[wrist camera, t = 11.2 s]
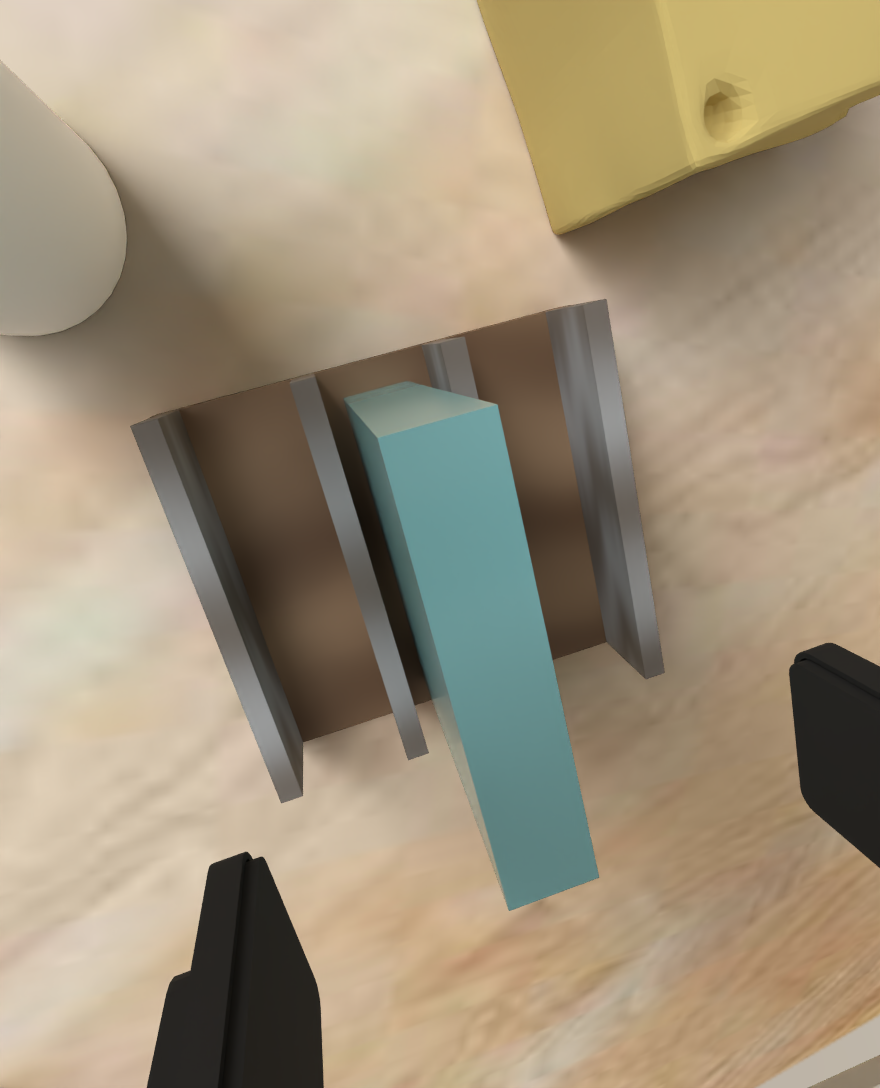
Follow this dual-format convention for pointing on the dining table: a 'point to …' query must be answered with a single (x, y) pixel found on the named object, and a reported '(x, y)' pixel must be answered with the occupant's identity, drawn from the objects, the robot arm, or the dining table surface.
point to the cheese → (672, 87)
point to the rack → (355, 535)
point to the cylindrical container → (52, 219)
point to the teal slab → (477, 626)
